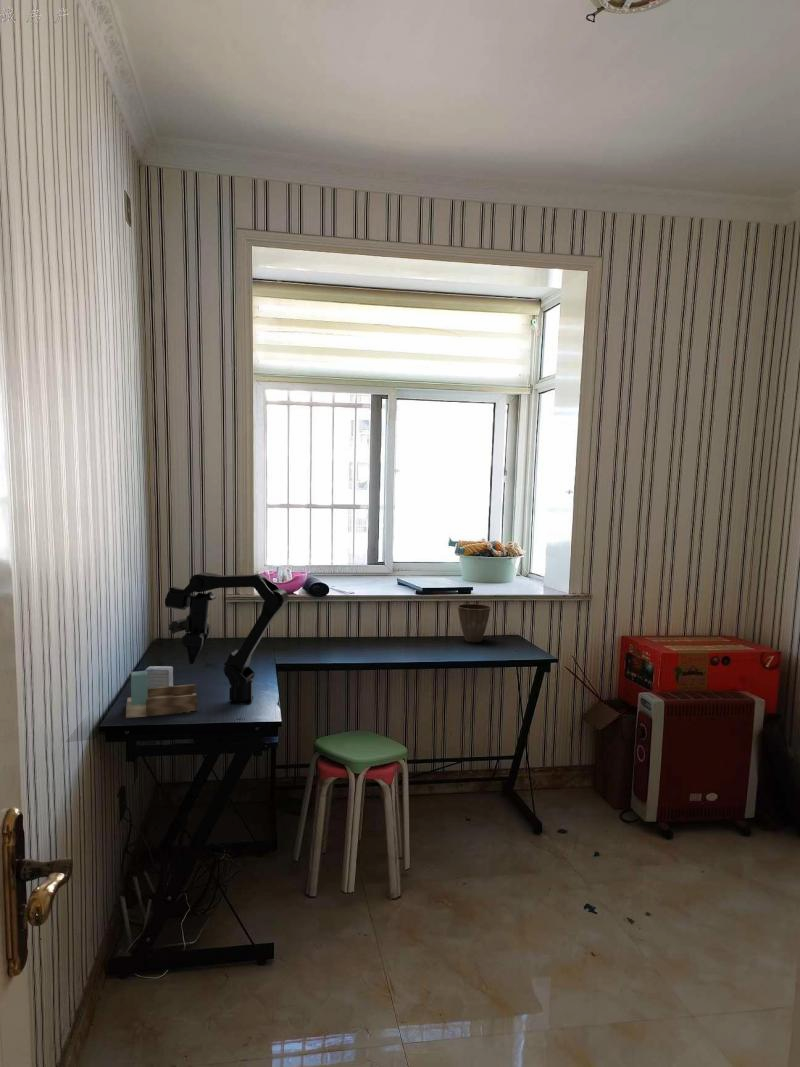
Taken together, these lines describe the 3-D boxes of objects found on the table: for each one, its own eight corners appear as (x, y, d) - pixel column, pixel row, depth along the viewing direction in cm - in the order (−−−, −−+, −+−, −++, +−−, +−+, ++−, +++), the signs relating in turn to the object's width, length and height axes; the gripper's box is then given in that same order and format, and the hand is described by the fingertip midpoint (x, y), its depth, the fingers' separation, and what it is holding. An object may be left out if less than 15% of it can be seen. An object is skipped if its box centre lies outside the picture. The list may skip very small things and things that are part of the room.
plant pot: (453, 637, 309) (454, 603, 308) (483, 636, 312) (484, 603, 311) (461, 644, 295) (462, 609, 294) (493, 644, 297) (494, 609, 296)
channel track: (195, 699, 210) (195, 684, 210) (197, 711, 199) (197, 695, 199) (127, 705, 203) (127, 689, 203) (126, 718, 192) (125, 701, 192)
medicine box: (173, 691, 218) (173, 666, 218) (169, 695, 214) (169, 669, 213) (149, 691, 218) (149, 665, 218) (144, 695, 214) (144, 669, 213)
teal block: (147, 699, 202) (147, 670, 201) (147, 704, 198) (147, 674, 197) (131, 700, 200) (131, 671, 200) (131, 705, 196) (131, 675, 195)
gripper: (178, 604, 218) (173, 650, 219) (166, 616, 199) (161, 666, 200) (212, 607, 219) (207, 652, 220) (204, 619, 201) (199, 668, 202)
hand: (193, 659), depth 211 cm, fingers open, 9 cm apart
